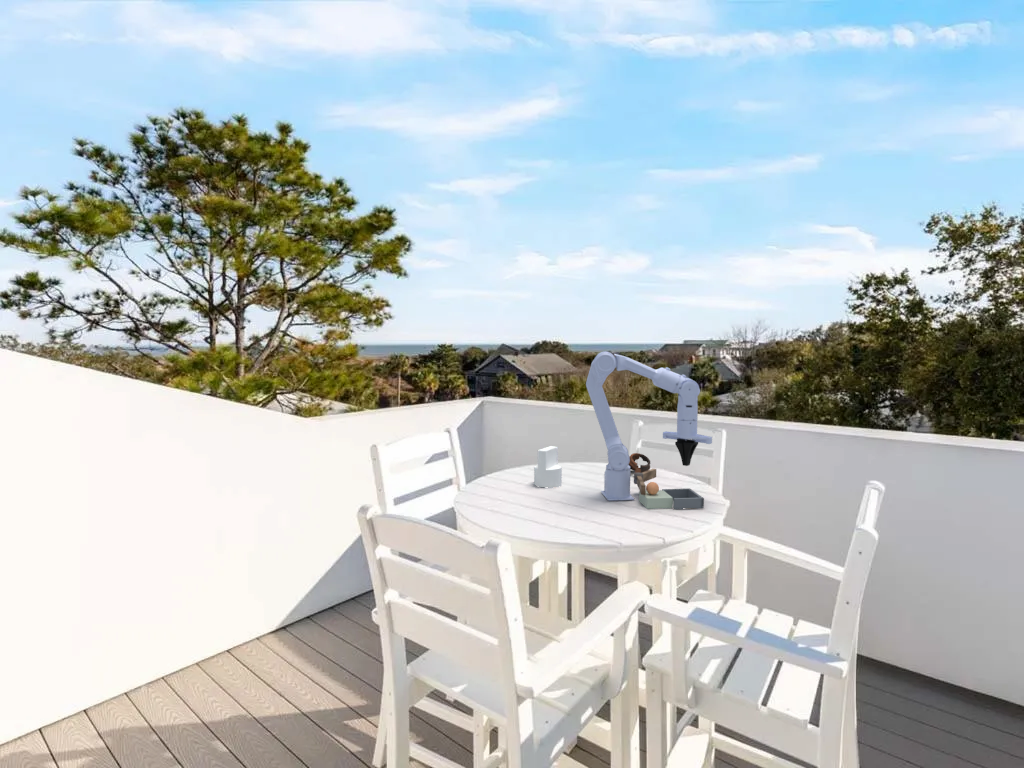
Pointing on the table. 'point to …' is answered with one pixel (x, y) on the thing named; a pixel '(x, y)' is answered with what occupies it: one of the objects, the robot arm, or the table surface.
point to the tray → (685, 498)
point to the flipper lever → (643, 479)
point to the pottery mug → (634, 465)
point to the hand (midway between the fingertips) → (686, 465)
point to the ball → (652, 488)
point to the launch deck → (656, 500)
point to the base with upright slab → (548, 468)
